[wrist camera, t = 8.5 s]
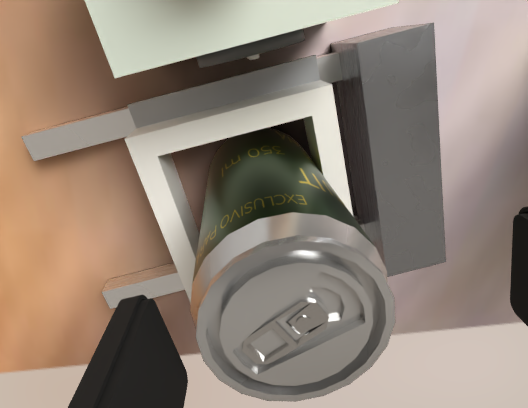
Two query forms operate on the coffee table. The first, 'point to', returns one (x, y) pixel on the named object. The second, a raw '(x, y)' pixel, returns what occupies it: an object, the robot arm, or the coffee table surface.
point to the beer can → (284, 276)
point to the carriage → (224, 126)
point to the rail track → (358, 148)
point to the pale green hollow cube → (207, 28)
